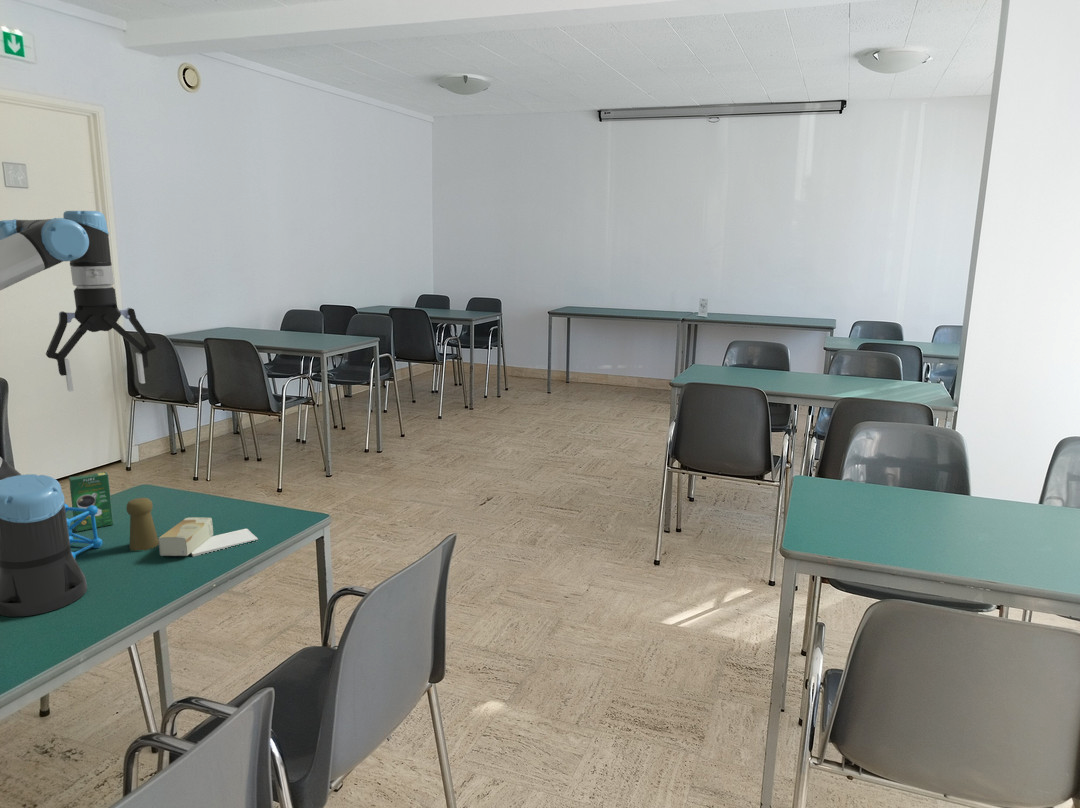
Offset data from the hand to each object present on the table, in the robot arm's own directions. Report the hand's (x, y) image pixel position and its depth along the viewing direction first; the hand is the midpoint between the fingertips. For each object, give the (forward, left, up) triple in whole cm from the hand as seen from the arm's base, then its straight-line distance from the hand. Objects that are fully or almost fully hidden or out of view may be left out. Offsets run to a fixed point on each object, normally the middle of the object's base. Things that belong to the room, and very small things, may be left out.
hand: (107, 386), depth 163 cm
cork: (+3, -2, -37) cm, 37 cm away
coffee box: (-4, +18, -37) cm, 41 cm away
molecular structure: (-11, +4, -37) cm, 39 cm away
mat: (+17, -12, -37) cm, 42 cm away
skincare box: (+14, -5, -34) cm, 37 cm away
